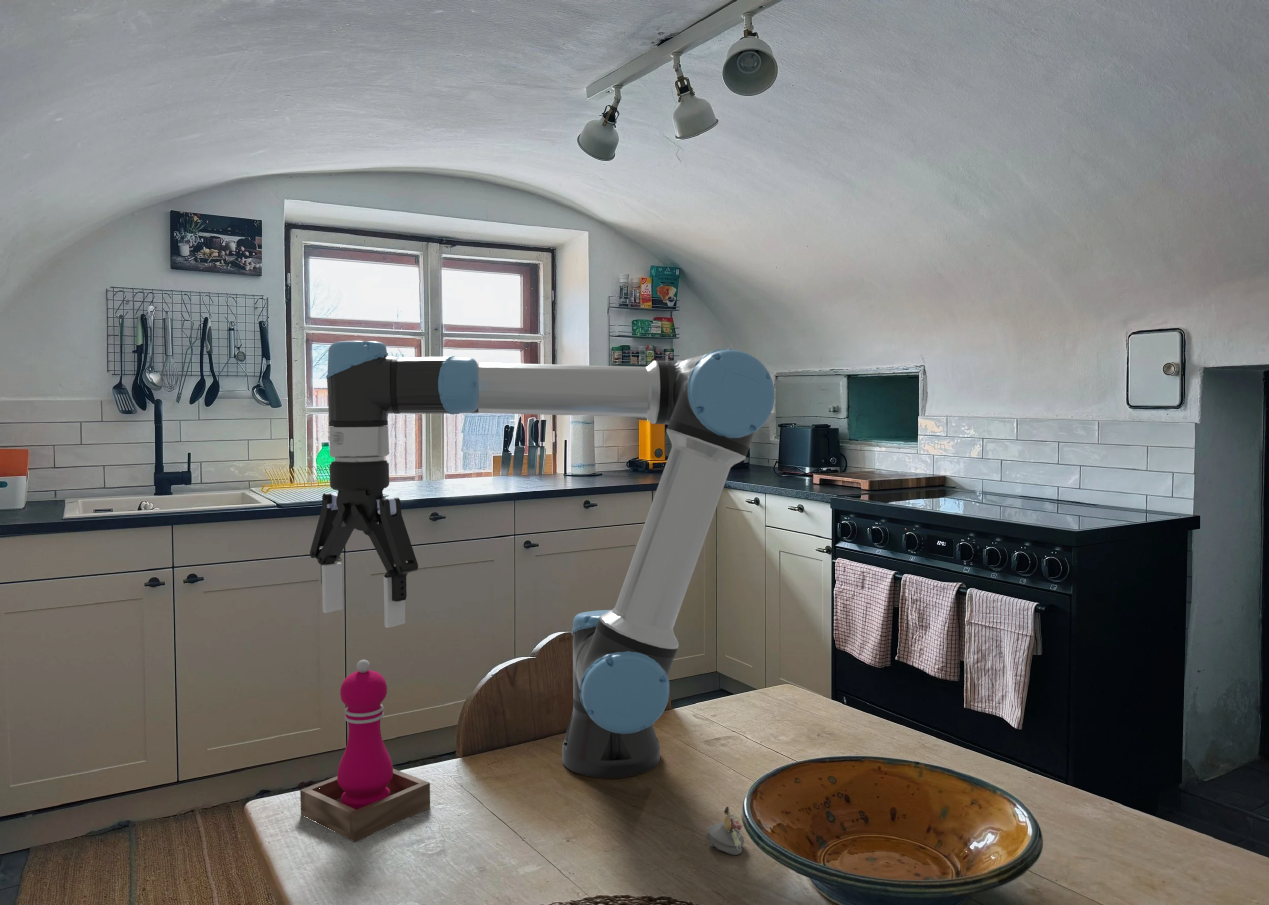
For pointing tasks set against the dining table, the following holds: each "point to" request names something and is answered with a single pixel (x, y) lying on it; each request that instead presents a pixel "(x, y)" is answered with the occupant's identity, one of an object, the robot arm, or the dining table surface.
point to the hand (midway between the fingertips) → (362, 618)
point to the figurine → (726, 835)
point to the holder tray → (363, 822)
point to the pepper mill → (364, 739)
